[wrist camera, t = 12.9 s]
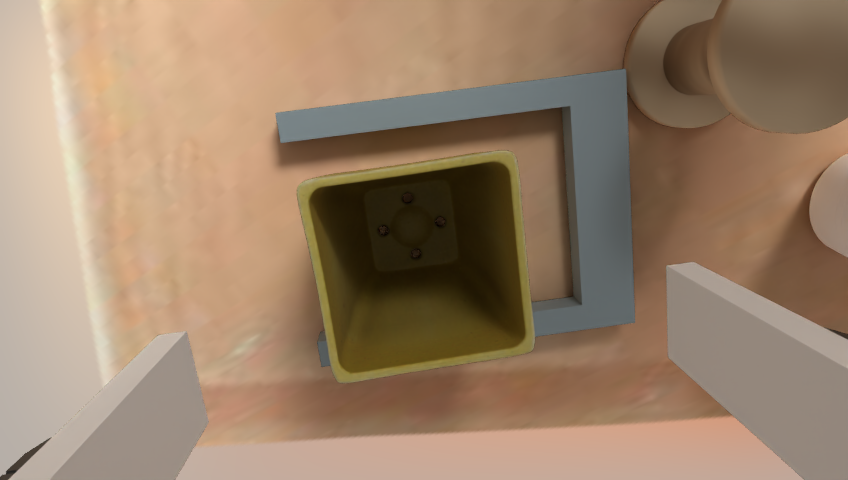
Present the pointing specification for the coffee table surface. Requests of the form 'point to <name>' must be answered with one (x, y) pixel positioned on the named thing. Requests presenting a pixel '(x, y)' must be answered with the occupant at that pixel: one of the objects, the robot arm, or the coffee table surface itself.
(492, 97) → the blue-grey u-shaped bracket
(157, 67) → the coffee table surface
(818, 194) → the cup
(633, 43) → the bobbin
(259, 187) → the coffee table surface
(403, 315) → the flower pot
